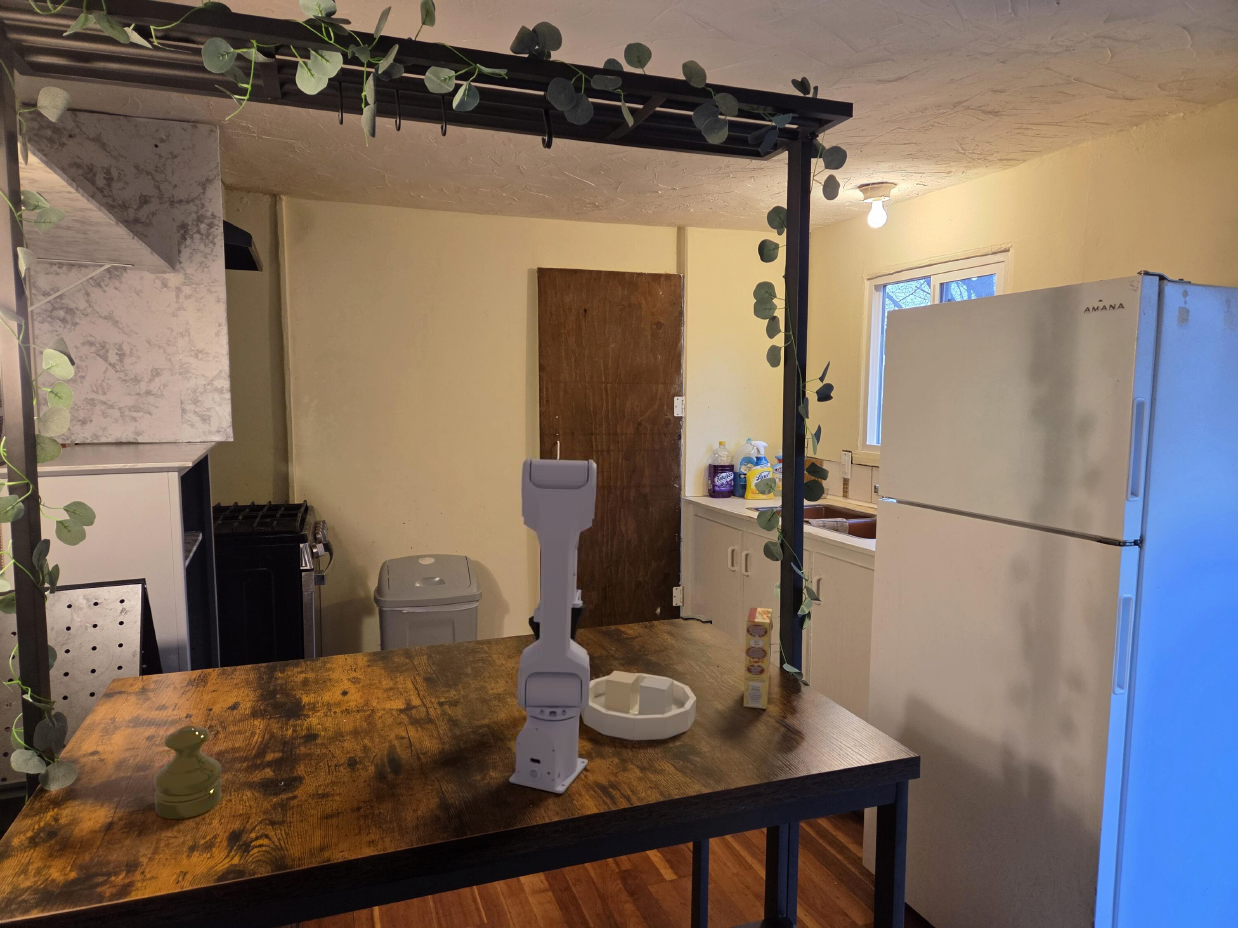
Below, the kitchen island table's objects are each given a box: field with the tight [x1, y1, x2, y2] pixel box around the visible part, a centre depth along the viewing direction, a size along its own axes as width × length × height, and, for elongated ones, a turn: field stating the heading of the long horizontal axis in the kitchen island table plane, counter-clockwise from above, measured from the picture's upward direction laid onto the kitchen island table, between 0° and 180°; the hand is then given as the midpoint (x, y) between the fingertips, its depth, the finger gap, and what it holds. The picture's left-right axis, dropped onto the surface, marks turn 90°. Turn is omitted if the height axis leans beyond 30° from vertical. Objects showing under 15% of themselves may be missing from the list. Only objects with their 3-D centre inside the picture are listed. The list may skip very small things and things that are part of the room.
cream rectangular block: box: [605, 670, 639, 713], centre depth 130 cm, size 4×4×5 cm
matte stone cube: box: [639, 676, 674, 715], centre depth 128 cm, size 4×4×5 cm
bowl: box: [580, 672, 697, 741], centre depth 130 cm, size 18×18×4 cm
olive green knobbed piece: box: [153, 725, 223, 820], centre depth 98 cm, size 7×7×10 cm
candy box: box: [743, 607, 773, 710], centre depth 137 cm, size 9×4×15 cm, turn 167°
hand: (557, 653), depth 131 cm, fingers open, 7 cm apart
